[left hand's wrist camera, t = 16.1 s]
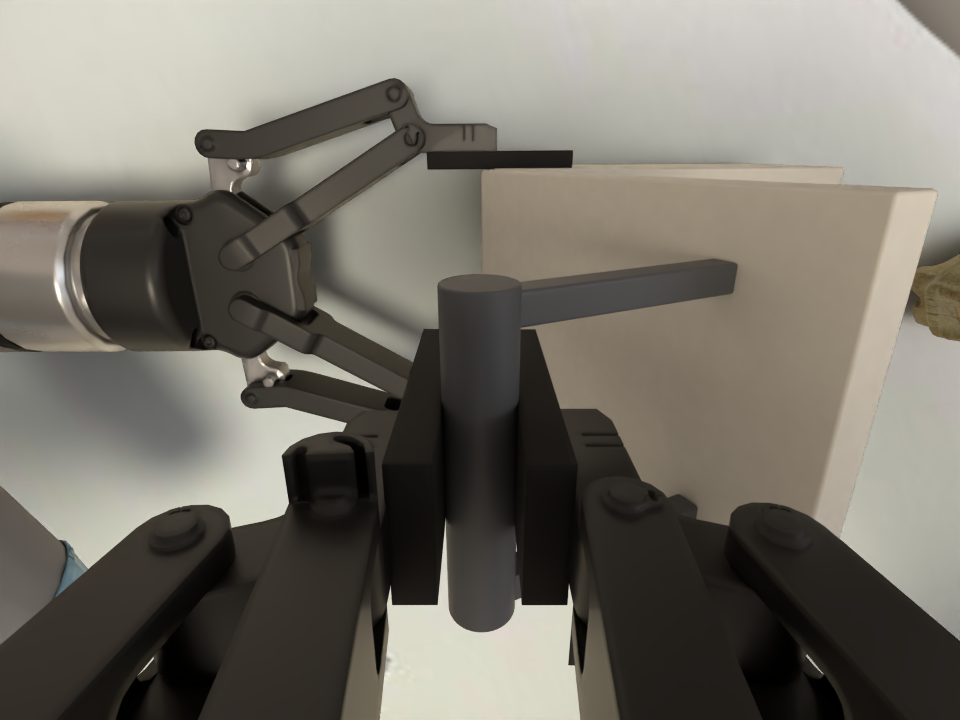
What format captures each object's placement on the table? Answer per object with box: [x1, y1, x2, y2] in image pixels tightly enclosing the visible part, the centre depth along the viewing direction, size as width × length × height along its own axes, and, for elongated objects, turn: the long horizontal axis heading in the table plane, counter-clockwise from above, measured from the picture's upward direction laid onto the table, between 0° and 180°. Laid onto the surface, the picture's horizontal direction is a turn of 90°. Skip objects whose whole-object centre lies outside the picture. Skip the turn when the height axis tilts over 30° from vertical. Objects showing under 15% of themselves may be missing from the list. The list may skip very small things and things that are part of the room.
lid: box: [437, 170, 938, 632], centre depth 16 cm, size 15×10×8 cm
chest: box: [491, 163, 844, 185], centre depth 29 cm, size 15×10×10 cm
